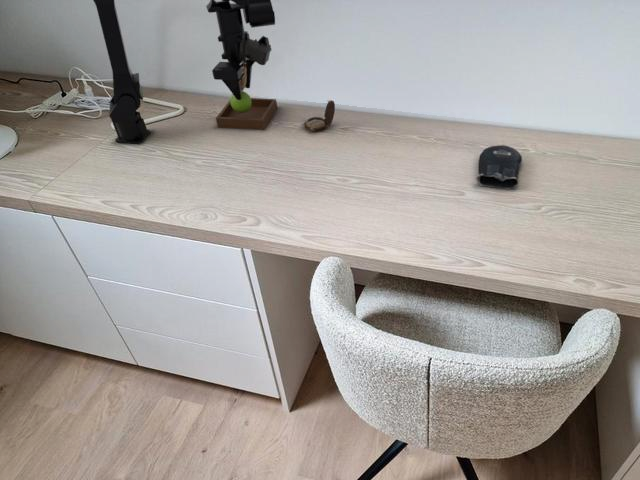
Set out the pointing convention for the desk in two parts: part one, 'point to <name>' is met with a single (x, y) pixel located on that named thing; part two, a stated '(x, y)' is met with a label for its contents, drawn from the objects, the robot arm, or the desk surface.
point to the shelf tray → (248, 115)
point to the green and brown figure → (242, 96)
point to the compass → (321, 119)
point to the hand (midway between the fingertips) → (243, 93)
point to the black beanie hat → (499, 167)
